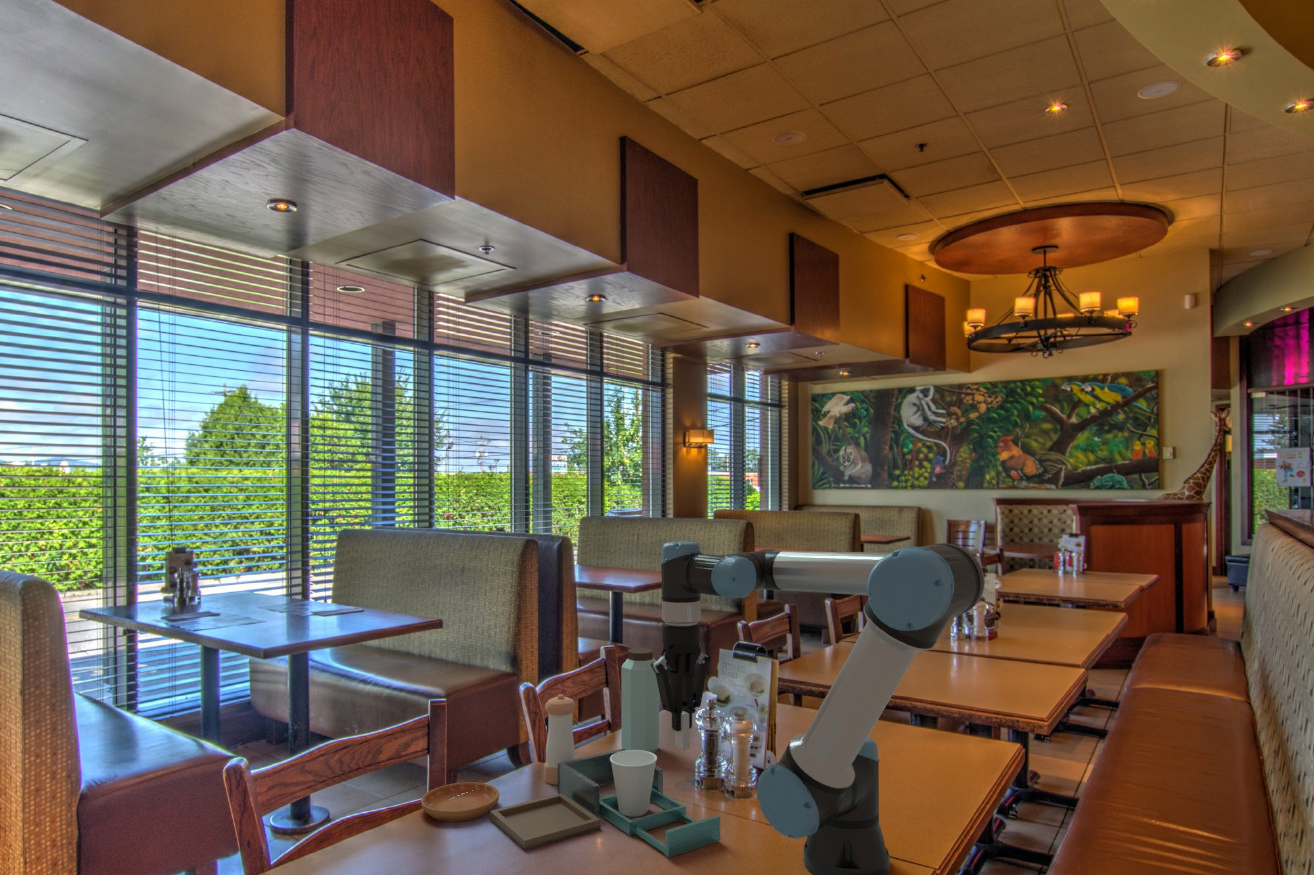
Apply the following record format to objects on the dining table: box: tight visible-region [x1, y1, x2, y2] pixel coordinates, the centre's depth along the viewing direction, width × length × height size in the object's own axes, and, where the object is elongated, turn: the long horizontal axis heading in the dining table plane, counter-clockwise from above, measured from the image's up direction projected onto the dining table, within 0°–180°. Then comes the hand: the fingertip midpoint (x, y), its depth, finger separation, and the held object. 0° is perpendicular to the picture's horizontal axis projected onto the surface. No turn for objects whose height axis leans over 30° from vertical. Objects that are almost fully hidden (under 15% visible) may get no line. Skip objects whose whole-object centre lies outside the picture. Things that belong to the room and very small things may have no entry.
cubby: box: [556, 748, 664, 819], centre depth 177 cm, size 16×17×6 cm
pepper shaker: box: [543, 693, 577, 786], centre depth 188 cm, size 7×7×19 cm
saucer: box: [420, 781, 500, 822], centre depth 171 cm, size 16×16×3 cm
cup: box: [610, 750, 658, 818], centre depth 170 cm, size 10×10×11 cm
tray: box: [489, 793, 602, 851], centre depth 163 cm, size 16×16×2 cm
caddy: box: [599, 788, 721, 858], centre depth 162 cm, size 26×14×4 cm, turn 34°
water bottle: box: [620, 647, 660, 754], centre depth 208 cm, size 10×10×25 cm
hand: (682, 746), depth 156 cm, fingers closed
